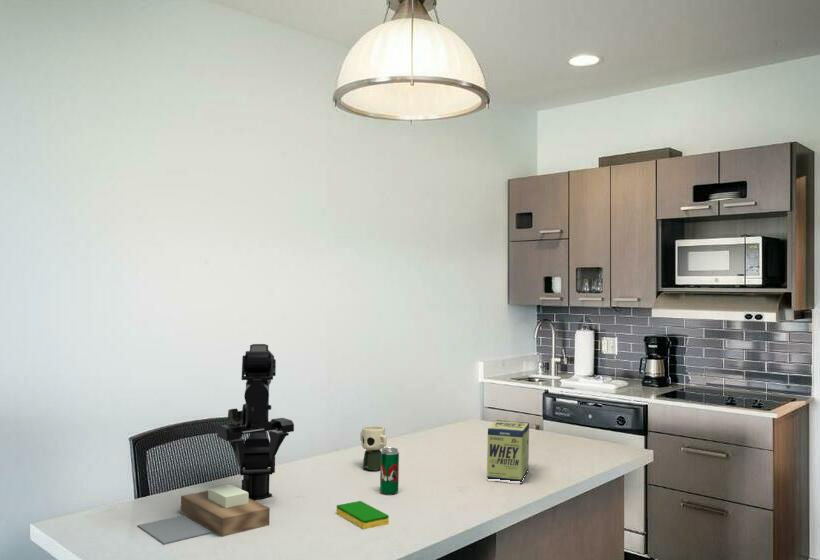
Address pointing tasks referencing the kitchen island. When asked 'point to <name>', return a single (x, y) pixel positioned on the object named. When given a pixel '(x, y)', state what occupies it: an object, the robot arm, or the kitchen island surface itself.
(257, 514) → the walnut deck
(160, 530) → the slate mat
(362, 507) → the dish sponge
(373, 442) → the character mug
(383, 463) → the soda can
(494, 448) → the protein box
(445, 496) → the kitchen island surface
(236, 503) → the sage tile
